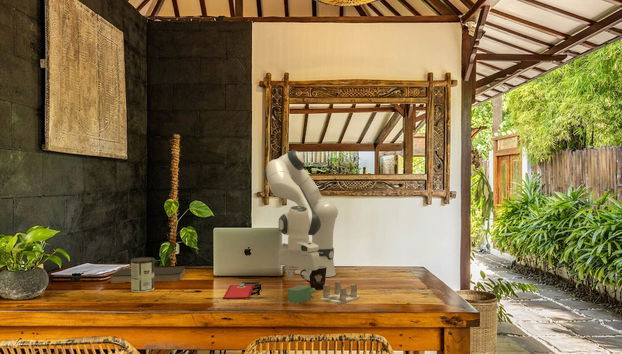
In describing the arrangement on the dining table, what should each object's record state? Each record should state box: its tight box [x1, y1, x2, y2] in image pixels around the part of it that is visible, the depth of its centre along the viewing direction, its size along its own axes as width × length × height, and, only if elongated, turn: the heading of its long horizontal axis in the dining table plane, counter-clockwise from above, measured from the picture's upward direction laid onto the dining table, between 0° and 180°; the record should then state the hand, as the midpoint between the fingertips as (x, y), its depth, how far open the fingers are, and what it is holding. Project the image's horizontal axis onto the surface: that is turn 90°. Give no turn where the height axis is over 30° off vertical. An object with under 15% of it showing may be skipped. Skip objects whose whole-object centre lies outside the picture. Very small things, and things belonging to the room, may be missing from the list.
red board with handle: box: [222, 281, 262, 300], centre depth 217 cm, size 30×3×15 cm
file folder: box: [109, 266, 187, 284], centre depth 246 cm, size 33×4×24 cm
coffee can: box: [130, 256, 155, 293], centre depth 218 cm, size 10×10×14 cm
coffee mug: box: [299, 265, 327, 291], centre depth 222 cm, size 12×9×10 cm
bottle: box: [287, 284, 316, 304], centre depth 202 cm, size 5×14×6 cm, turn 142°
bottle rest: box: [320, 280, 360, 305], centre depth 202 cm, size 10×14×6 cm
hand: (298, 278), depth 200 cm, fingers open, 8 cm apart
